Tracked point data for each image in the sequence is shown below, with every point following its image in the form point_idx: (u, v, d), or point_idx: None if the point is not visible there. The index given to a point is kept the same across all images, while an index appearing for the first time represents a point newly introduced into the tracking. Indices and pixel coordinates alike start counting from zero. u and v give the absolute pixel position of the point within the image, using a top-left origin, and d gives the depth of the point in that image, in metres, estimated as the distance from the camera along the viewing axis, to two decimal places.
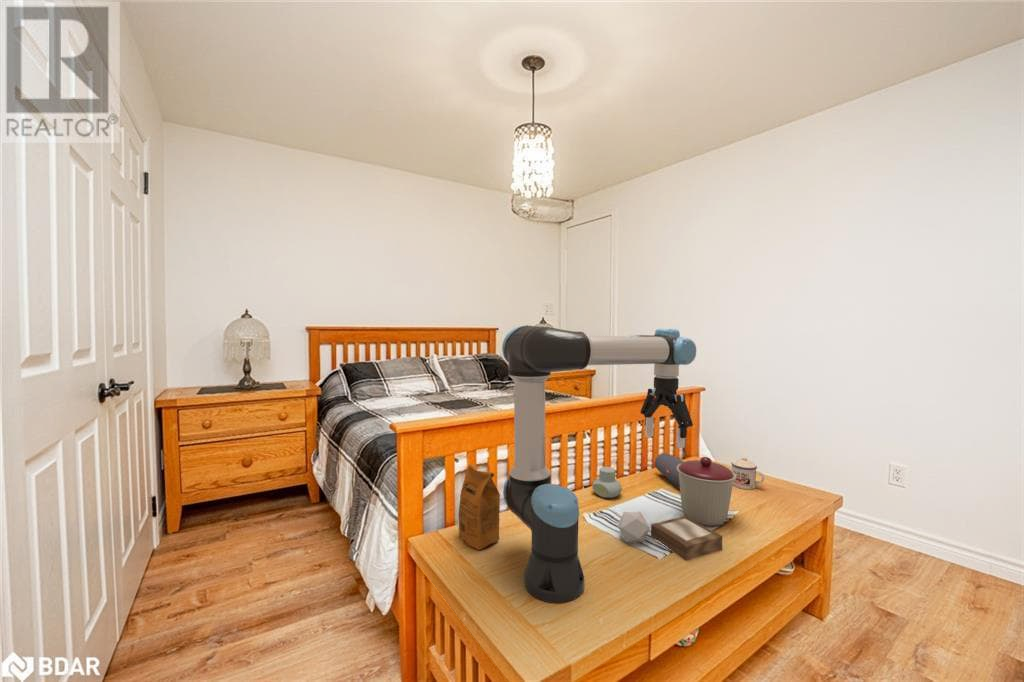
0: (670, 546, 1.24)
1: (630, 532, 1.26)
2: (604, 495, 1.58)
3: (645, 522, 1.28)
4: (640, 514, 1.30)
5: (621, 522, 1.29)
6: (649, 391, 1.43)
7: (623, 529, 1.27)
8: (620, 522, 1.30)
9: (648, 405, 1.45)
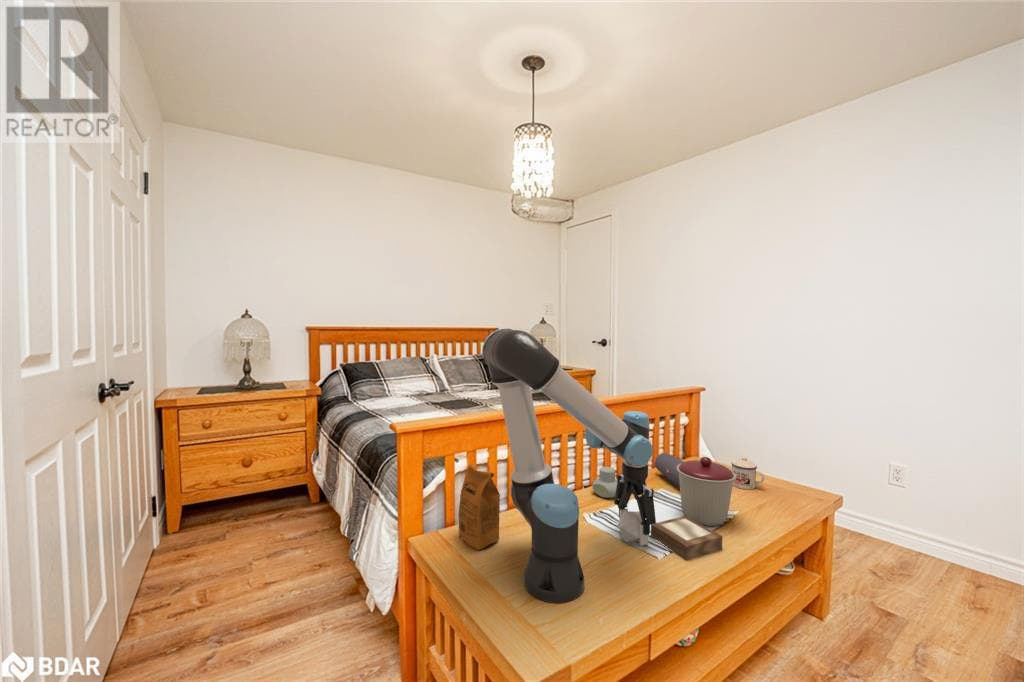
0: (670, 546, 1.24)
1: (630, 532, 1.26)
2: (604, 495, 1.58)
3: None
4: None
5: (621, 522, 1.29)
6: (618, 478, 1.34)
7: (623, 529, 1.27)
8: (620, 522, 1.30)
9: (621, 494, 1.35)
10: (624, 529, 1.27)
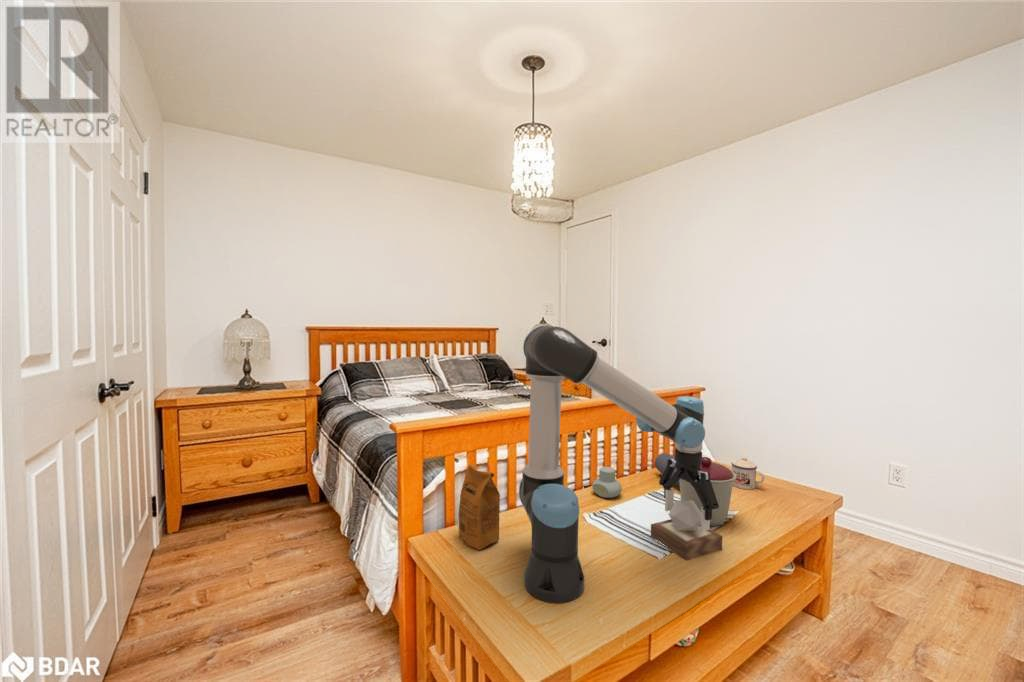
0: (670, 546, 1.24)
1: (683, 520, 1.24)
2: (604, 495, 1.58)
3: (698, 511, 1.26)
4: (693, 503, 1.28)
5: (673, 510, 1.27)
6: (669, 462, 1.32)
7: (675, 517, 1.25)
8: (672, 510, 1.29)
9: (668, 476, 1.34)
10: (677, 518, 1.25)
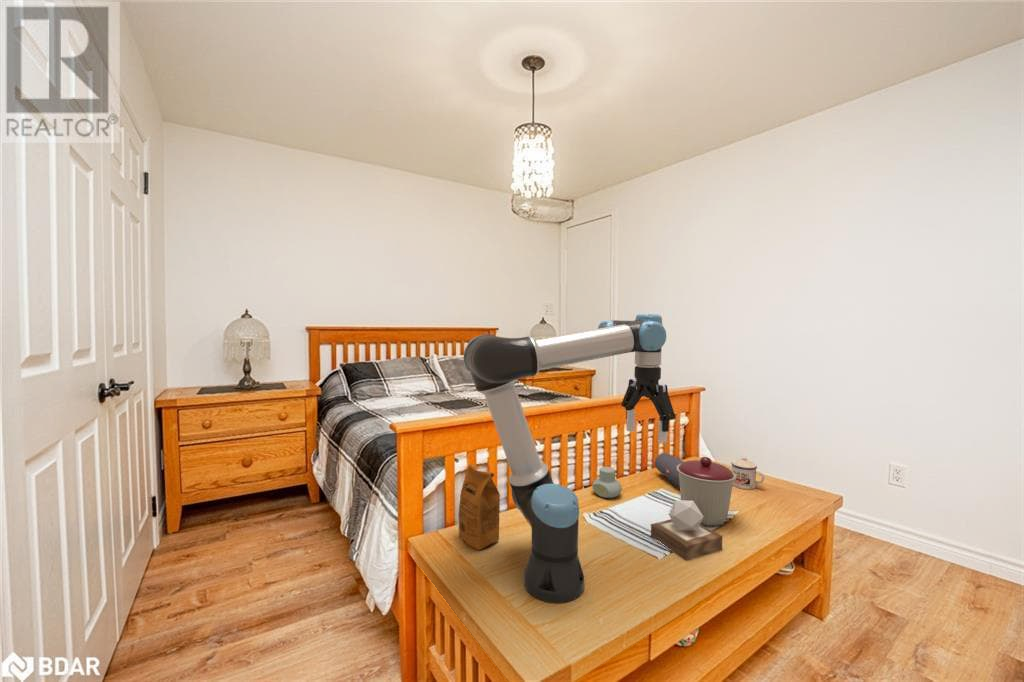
0: (670, 546, 1.24)
1: (683, 520, 1.24)
2: (604, 495, 1.58)
3: (698, 511, 1.26)
4: (693, 503, 1.28)
5: (673, 510, 1.27)
6: (630, 382, 1.33)
7: (675, 517, 1.25)
8: (672, 510, 1.29)
9: (629, 397, 1.35)
10: (677, 518, 1.25)
